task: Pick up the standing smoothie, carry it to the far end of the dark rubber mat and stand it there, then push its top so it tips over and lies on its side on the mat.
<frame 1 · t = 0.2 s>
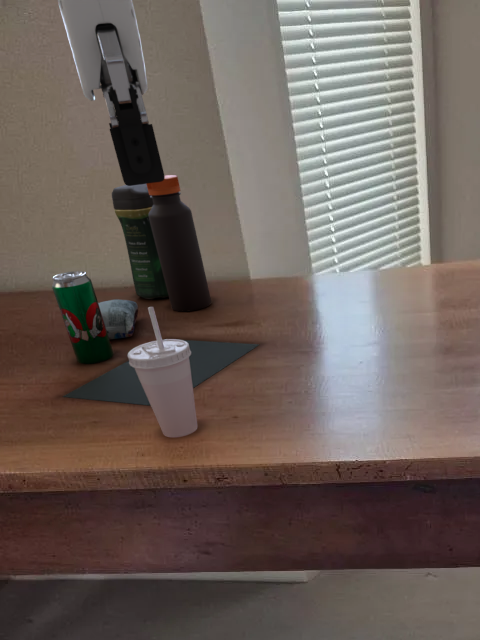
hand: (142, 176, 62), 26 cm above the table, tool pointing down, fingers open, 9 cm apart
soda can: (97, 362, 105), on the table
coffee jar: (165, 294, 134), on the table
vinegar: (192, 307, 125), on the table
smoothie: (181, 434, 81), on the table
packaged food: (111, 337, 114), on the table
mat: (167, 372, 98), on the table
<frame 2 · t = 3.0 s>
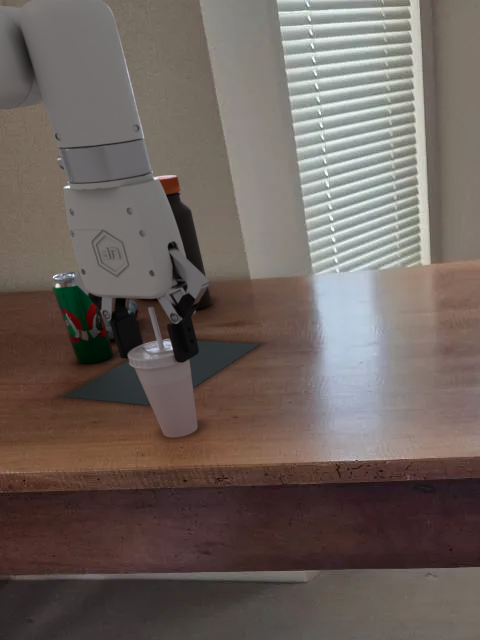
hand: (159, 354, 76), 9 cm above the table, tool pointing down, fingers closed on smoothie, 6 cm apart
smoothie: (181, 434, 81), on the table, touching gripper
everything else where it was.
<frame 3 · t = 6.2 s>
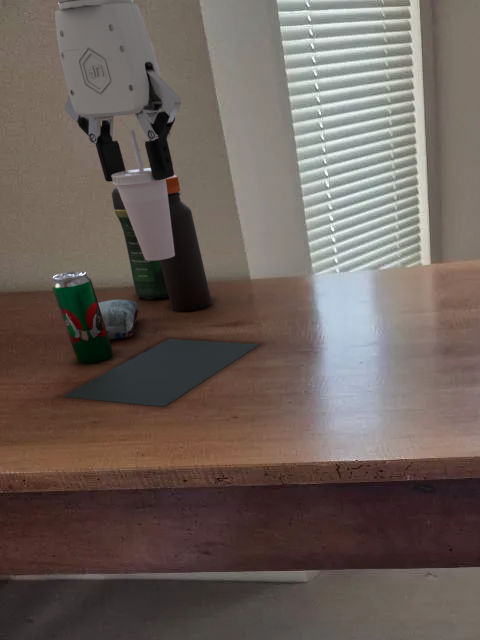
hand: (139, 177, 87), 23 cm above the table, tool pointing down, fingers closed on smoothie, 6 cm apart
smoothie: (160, 258, 92), point 14 cm above the table, touching gripper
everything else where it was.
when the fingers open (10 cm above the table, at t = 9.9 s): smoothie stays where it is, resting on mat.
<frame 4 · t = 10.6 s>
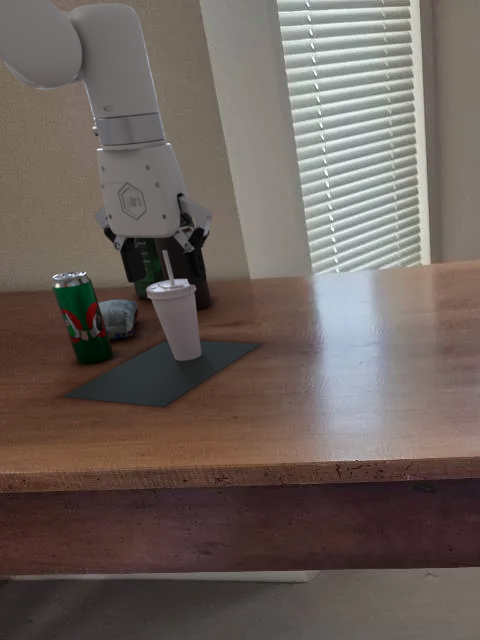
hand: (167, 281, 96), 11 cm above the table, tool pointing down, fingers open, 9 cm apart
smoothie: (188, 357, 102), resting on mat
everything else where it was.
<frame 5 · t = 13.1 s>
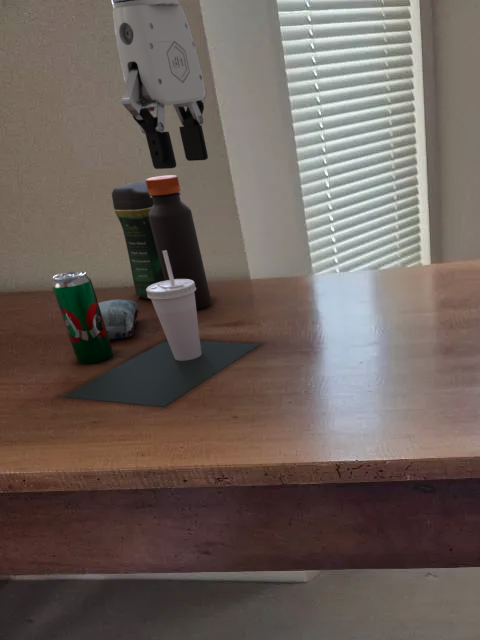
hand: (181, 162, 95), 24 cm above the table, tool pointing down, fingers open, 6 cm apart
nothing on the table moved.
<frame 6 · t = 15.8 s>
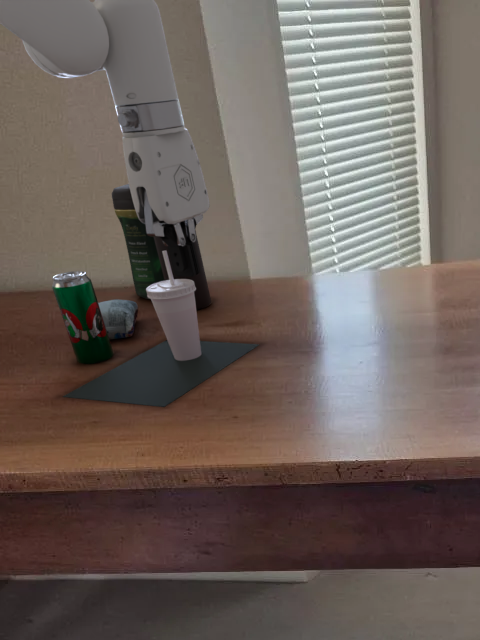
hand: (187, 274, 99), 10 cm above the table, tool pointing down, fingers closed
smoothie: (188, 357, 102), resting on mat, touching gripper
everything else where it was.
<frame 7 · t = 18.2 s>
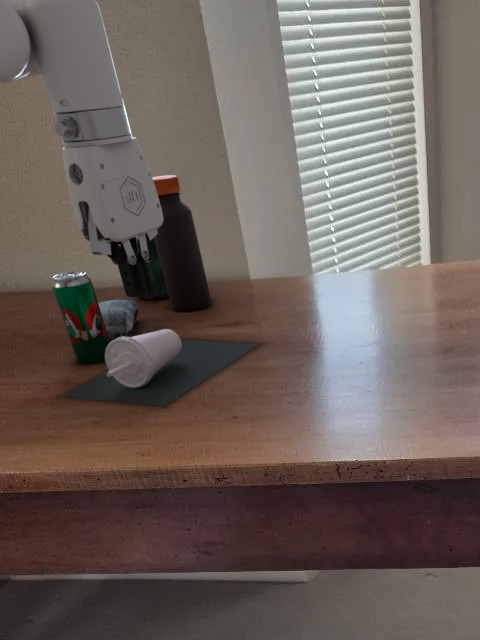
hand: (140, 294, 92), 11 cm above the table, tool pointing down, fingers closed
smoothie: (170, 342, 99), point 3 cm above the table, touching mat
everything else where it was.
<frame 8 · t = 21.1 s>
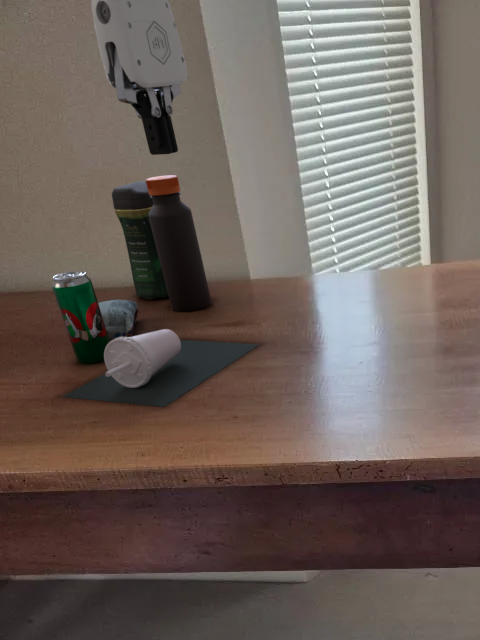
hand: (164, 153, 92), 25 cm above the table, tool pointing down, fingers closed
nothing on the table moved.
at the end: smoothie tilted 86°; smoothie inside the target area on the mat (3.0 cm from its centre), point 3.1 cm above the mat's base; the gripper is holding nothing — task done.
